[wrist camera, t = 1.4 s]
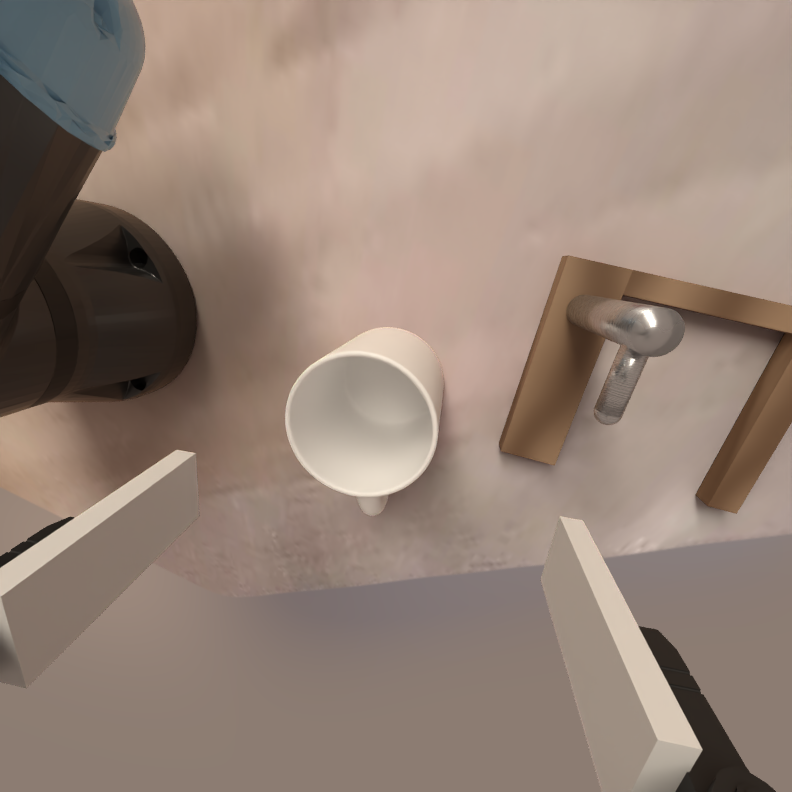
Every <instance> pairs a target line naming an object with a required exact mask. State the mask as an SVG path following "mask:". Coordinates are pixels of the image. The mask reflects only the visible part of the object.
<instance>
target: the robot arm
mask: <svg viewBox="0 0 792 792" xmlns="http://www.w3.org/2000/svg"><path fill="white" fill-rule="evenodd" d="M144 58H145V37H144V31H143V27H142V23H141V20H140V17H139V15H138V12H137V9H136V7H135V5H134V3H133V1H132V0H0V417H3V416H6V415H9V414H12V413H16V412H19V411H21V410H24V409H27V408H31V407H34V406H37V405H40V404H44V403H47V402H116V401H124V400H129V399H133V398H137V397H139V396H142V395H145V394H147V393H150V392H153V391H155V390H158V389H160V388H162V387H164V386H165V385H167V384H168V383H170V382H171V381H172V380H173V379H174V378H176V376H177V375H178V374H179V373H180V372H181V371H182V369H183V368H184V366H185V365H186V363H187V361H188V359H189V357H190V354H191V352H192V349H193V345H194V341H195V334H196V311H195V304H194V299H193V295H192V291H191V288H190V285H189V282H188V280H187V277H186V275H185V273H184V270H183V268H182V267H181V265H180V263H179V261H178V260H177V258H176V256H175V255H174V253H173V252H172V251H171V249H170V248H169V247H168V245H167V244H166V243H165V242H164V241H163V239H162V238H161V237H160V236H159V235H158V234H157V233H156V232H155V231H154V230H153V229H151V228H150V227H149V226H148V225H147V224H145V223H144V222H143V221H141V220H140V219H138V218H137V217H135V216H133V215H131V214H130V213H128V212H126V211H123V210H121V209H118V208H116V207H113V206H109V205H105V204H99V203H94V202H89V201H84V200H78V199H76V198H77V196H78V194H79V192H80V190H81V189H82V187H83V185H84V183H85V181H86V180H87V178H88V176H89V174H90V172H91V171H92V169H93V167H94V165H95V163H96V162H97V160H98V158H99V156H100V154H101V152H102V151H104V152H105V151H107V150H110V149H111V148H112V147H113V146H114V144H115V142H116V139H117V136H116V130H115V128H116V125H117V123H118V121H119V119H120V116H121V114H122V112H123V110H124V108H125V105H126V103H127V101H128V99H129V96H130V94H131V92H132V90H133V87H134V85H135V83H136V81H137V78H138V76H139V74H140V72H141V70H142V66H143V63H144ZM199 516H200V512H199V495H198V479H197V462H196V453H193V452H187V451H181V450H175V451H174V452H172V453H171V454H169V455H168V456H166V457H165V458H163V459H162V460H160V461H159V462H157V463H156V464H154V465H153V466H151V467H150V468H148V469H147V470H145V471H144V472H142V473H141V474H139V475H138V476H136V477H135V478H134V479H132V480H131V481H129V482H128V483H126V484H125V485H123V486H122V487H120V488H119V489H117V490H116V491H114V492H113V493H111V494H110V495H108V496H107V497H105V498H104V499H102V500H101V501H99V502H98V503H96V504H95V505H93V506H92V507H90V508H89V509H87V510H86V511H84V512H83V513H81V514H80V515H78V516H77V517H75V518H74V517H68V518H66V519H63V520H61V521H59V522H56V523H54V524H51V525H49V526H47V527H45V528H44V529H42V530H40V531H39V532H37V533H36V534H34V535H33V536H31V537H30V538H28V539H27V541H26V542H22V543H20V544H19V545H17V546H16V547H14V548H13V549H11V551H10V552H9V553H8V552H6V553H5V554H3V555H2V556H0V682H2V683H6V684H11V685H15V686H19V687H23V688H27V687H28V686H29V685H30V684H31V683H32V682H33V681H34V680H35V679H36V678H37V677H38V676H39V675H40V674H41V673H42V672H43V671H44V670H45V669H46V668H47V667H48V666H49V665H50V664H51V663H52V662H53V661H54V660H55V659H57V658H58V656H59V655H60V654H61V653H63V652H64V650H66V648H67V647H69V646H70V645H71V644H72V643H73V641H74V640H76V639H77V637H79V635H81V633H82V632H84V630H86V629H87V628H88V627H89V626H90V624H92V623H93V622H94V621H95V620H96V619H97V618H98V616H100V615H101V613H103V612H104V610H106V608H108V607H109V606H110V605H111V604H112V603H113V602H114V601H115V599H116V598H118V597H119V596H120V595H121V594H122V592H124V591H125V590H126V589H127V588H128V587H129V586H130V585H131V584H132V583H133V582H134V580H136V579H137V578H138V577H139V576H140V575H141V574H142V573H143V572H144V571H145V569H147V567H149V566H150V565H151V564H152V563H153V562H154V561H155V560H156V559H157V558H158V557H159V556H160V555H161V554H162V553H163V552H164V551H165V550H166V549H167V548H168V547H169V546H170V545H171V544H172V543H173V542H174V541H175V540H176V539H177V538H178V537H179V536H180V535H181V534H182V533H183V532H184V531H185V530H186V529H187V528H188V527H189V526H190V525H191V524H192V523H193V522H194V521H195V520H196V519H197V518H198V517H199ZM541 583H542V586H543V590H544V593H545V597H546V601H547V604H548V607H549V611H550V615H551V618H552V622H553V625H554V628H555V632H556V635H557V639H558V642H559V646H560V649H561V653H562V656H563V660H564V663H565V667H566V670H567V673H568V677H569V681H570V684H571V687H572V691H573V694H574V698H575V701H576V705H577V708H578V712H579V715H580V719H581V722H582V726H583V729H584V732H585V736H586V740H587V743H588V746H589V750H590V753H591V757H592V760H593V764H594V767H595V771H596V774H597V778H598V781H599V785H600V788H601V791H602V792H776V791H775V790H774V789H773V788H771V787H770V786H769V785H768V784H767V783H765V782H764V781H762V780H761V779H759V778H757V777H756V776H754V775H753V774H751V773H750V772H749V770H748V769H747V768H746V766H745V764H744V763H743V761H742V759H741V757H740V756H739V754H738V753H737V751H736V749H735V747H734V746H733V744H732V742H731V741H730V739H729V737H728V736H727V734H726V732H725V730H724V729H723V727H722V725H721V724H720V722H719V720H718V719H717V717H716V715H715V713H714V712H713V710H712V708H711V707H710V705H709V703H708V702H707V700H706V698H705V697H704V695H702V694H701V692H700V688H699V686H698V685H697V683H696V681H695V680H694V678H693V676H690V672H689V670H688V668H687V666H686V664H685V663H684V661H683V660H682V658H681V656H680V654H679V653H678V651H677V649H675V647H674V646H673V645H672V644H671V643H670V642H669V641H668V640H667V639H666V638H665V637H664V636H663V635H662V634H661V633H660V632H659V631H658V630H656V629H651V628H645V627H640V626H638V625H637V623H636V621H635V619H634V617H633V615H632V614H631V612H630V610H629V608H628V606H627V604H626V602H625V600H624V598H623V596H622V594H621V592H620V590H619V589H618V587H617V585H616V583H615V581H614V579H613V577H612V575H611V573H610V571H609V569H608V567H607V566H606V564H605V562H604V560H603V558H602V556H601V554H600V552H599V550H598V548H597V546H596V544H595V543H594V541H593V539H592V537H591V535H590V533H589V531H588V529H587V527H586V525H585V523H584V522H583V520H578V519H572V518H566V517H561V516H560V517H559V521H558V524H557V527H556V530H555V534H554V537H553V540H552V544H551V547H550V550H549V554H548V557H547V560H546V563H545V567H544V570H543V573H542V577H541Z"/></svg>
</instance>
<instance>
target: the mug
mask: <svg viewBox="0 0 792 792" xmlns="http://www.w3.org/2000/svg"><path fill="white" fill-rule="evenodd" d="M443 391H444V378H443V371H442V368H441V364H440V362H439V360H438V357H437V356H436V354H435V353H434V351H433V350H432V349H431V347H430V346H429V345H428V344H427V343H426V342H425V341H424V340H423V339H421V338H420V337H419V336H417V335H415V334H413V333H411V332H409V331H406V330H403V329H399V328H392V327H382V328H376V329H372V330H369V331H366V332H364V333H362V334H360V335H358V336H356V337H355V338H353V339H352V340H350V341H348V342H347V343H345V344H344V345H342V346H340V347H339V348H337V349H336V350H334V351H332V352H331V353H329V354H328V355H326V356H324V357H323V358H321V359H319V360H318V361H316V362H315V363H313V364H312V365H310V366H309V367H308V368H307V369H306V370H305V371H304V372H303V373H302V374H301V375H300V376H299V377H298V379H297V380H296V382H295V384H294V385H293V387H292V389H291V391H290V394H289V397H288V400H287V404H286V411H285V426H286V433H287V436H288V440H289V443H290V446H291V448H292V450H293V452H294V454H295V456H296V458H297V459H298V460H299V462H300V463H301V465H302V466H303V467H304V468H305V469H306V470H307V472H308V473H309V474H311V475H312V476H313V477H314V478H315V479H316V480H318V481H319V482H321V483H322V484H323V485H325V486H327V487H329V488H331V489H333V490H335V491H338V492H340V493H343V494H347V495H350V496H356V497H357V501H358V504H359V506H360V508H361V510H362V511H363V512H364V513H365V514H367V515H369V516H376V515H378V514H380V513H381V512H382V511H383V509H384V508H385V506H386V503H387V500H388V496H389V494H392V493H395V492H397V491H400V490H402V489H404V488H405V487H407V486H408V485H410V484H411V483H413V482H414V481H415V480H416V479H417V478H419V477H420V476H421V474H422V473H423V472H424V471H425V470H426V468H427V467H428V465H429V463H430V462H431V460H432V457H433V455H434V453H435V449H436V446H437V440H438V433H439V424H440V416H441V408H442V399H443Z"/></svg>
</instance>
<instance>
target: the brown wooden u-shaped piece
mask: <svg viewBox="0 0 792 792" xmlns="http://www.w3.org/2000/svg"><path fill="white" fill-rule="evenodd" d="M579 295H591V296H597V297H604V298H610V299H616V300H621V298H622V296H623V295H624V296H628V297H632V298H637V299H641V300H645V301H650V302H654V303H658V304H663V305H667V306H671V307H676V308H680V309H684V310H689V311H693V312H697V313H702V314H706V315H711V316H715V317H719V318H724V319H728V320H732V321H737V322H741V323H745V324H750V325H754V326H758V327H763V328H767V329H771V330H776V331H780V332H784V333H785V334H784V335H783V337H782V339H781V341H780V343H779V345H778V346H777V348H776V350H775V352H774V354H773V355H772V357H771V359H770V361H769V363H768V364H767V366H766V368H765V370H764V372H763V374H762V375H761V377H760V379H759V381H758V383H757V384H756V386H755V388H754V390H753V392H752V393H751V395H750V397H749V399H748V401H747V403H746V404H745V406H744V408H743V410H742V412H741V413H740V415H739V417H738V419H737V421H736V422H735V424H734V426H733V428H732V430H731V432H730V433H729V435H728V437H727V439H726V441H725V442H724V444H723V446H722V448H721V450H720V451H719V453H718V455H717V457H716V459H715V461H714V462H713V464H712V466H711V468H710V470H709V471H708V473H707V475H706V477H705V479H704V480H703V482H702V484H701V486H700V488H699V490H698V491H697V493H696V496H697V497H698V498H700V499H701V500H702V501H703V502H704V503H705V504H706V505H707V506H709V507H713V508H717V509H721V510H724V511H728V512H732V513H736V514H737V512H738V510H739V509H740V507H741V505H742V504H743V502H744V500H745V499H746V497H747V495H748V494H749V492H750V490H751V489H752V487H753V485H754V484H755V482H756V480H757V479H758V477H759V476H760V474H761V472H762V471H763V469H764V467H765V466H766V464H767V462H768V461H769V459H770V457H771V456H772V454H773V452H774V451H775V449H776V447H777V446H778V444H779V442H780V441H781V439H782V437H783V436H784V434H785V432H786V431H787V429H788V427H789V426H790V424H791V422H792V306H790V305H786V304H781V303H777V302H772V301H768V300H764V299H759V298H755V297H750V296H746V295H741V294H737V293H732V292H728V291H724V290H719V289H715V288H710V287H706V286H701V285H697V284H693V283H688V282H684V281H679V280H675V279H670V278H666V277H661V276H657V275H653V274H648V273H644V272H639V271H635V270H630V269H626V268H622V267H617V266H613V265H608V264H604V263H599V262H595V261H590V260H586V259H582V258H577V257H573V256H563V257H562V259H561V262H560V265H559V268H558V271H557V274H556V277H555V280H554V283H553V286H552V288H551V291H550V294H549V297H548V300H547V303H546V306H545V309H544V312H543V315H542V318H541V321H540V324H539V327H538V330H537V333H536V335H535V338H534V341H533V344H532V347H531V350H530V353H529V356H528V359H527V362H526V365H525V368H524V371H523V374H522V377H521V380H520V382H519V385H518V388H517V391H516V394H515V397H514V400H513V403H512V406H511V409H510V412H509V415H508V418H507V421H506V424H505V427H504V429H503V432H502V435H501V438H500V441H499V445H500V449H501V451H502V452H506V453H510V454H513V455H517V456H521V457H525V458H528V459H532V460H536V461H540V462H544V463H547V464H551V465H555V463H556V461H557V458H558V456H559V453H560V451H561V448H562V446H563V443H564V441H565V438H566V436H567V433H568V431H569V428H570V426H571V423H572V421H573V418H574V416H575V413H576V411H577V408H578V406H579V403H580V401H581V398H582V396H583V393H584V391H585V388H586V386H587V383H588V381H589V378H590V376H591V373H592V371H593V368H594V366H595V363H596V361H597V358H598V356H599V353H600V351H601V348H602V346H603V343H604V341H605V338H604V337H601V336H599V335H597V334H594V333H592V332H590V331H588V330H585V329H583V328H581V327H578V326H576V325H574V324H572V323H571V322H570V321H569V320H568V318H567V314H566V310H567V306H568V304H569V303H570V301H571V300H572V299H574V298H575V297H577V296H579Z"/></svg>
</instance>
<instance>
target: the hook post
mask: <svg viewBox="0 0 792 792" xmlns="http://www.w3.org/2000/svg"><path fill="white" fill-rule="evenodd" d="M566 314H567V318H568V320H569V321H570V322H571V323H572V324H574V325H576V326H578V327H581V328H583V329H585V330H588V331H590V332H592V333H594V334H597V335H599V336H601V337H604V338H606V339H608V340H610V341H613V342H615V343H617V344H620V348H619V350H618V353H617V355H616V357H615V360H614V362H613V365H612V367H611V369H610V372H609V374H608V377H607V379H606V381H605V384H604V386H603V389H602V391H601V393H600V396H599V398H598V401H597V403H596V405H595V408H594V416H595V418H596V419H597V421H599V422H600V423H602V424H605V425H612V424H615V423H617V422H619V420H620V419H621V418H622V416H623V413H624V411H625V409H626V407H627V404H628V402H629V400H630V398H631V395H632V393H633V391H634V389H635V386H636V384H637V382H638V380H639V377H640V375H641V373H642V371H643V368H644V366H645V364H646V362H647V359H648V357H658V356H662V355H665V354H667V353H669V352H671V351H672V350H674V349H675V348H676V347H677V346H678V345H679V343H680V342H681V340H682V338H683V336H684V332H685V324H684V321H683V319H682V317H681V316H680V314H679V313H677V312H676V311H675V310H672V309H670V308H665V307H659V306H653V305H646V304H640V303H634V302H628V301H622V300H616V299H610V298H604V297H597V296H591V295H579V296H577V297H575V298H574V299H572V300H571V301H570V303H569V304H568V306H567V310H566Z"/></svg>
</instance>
